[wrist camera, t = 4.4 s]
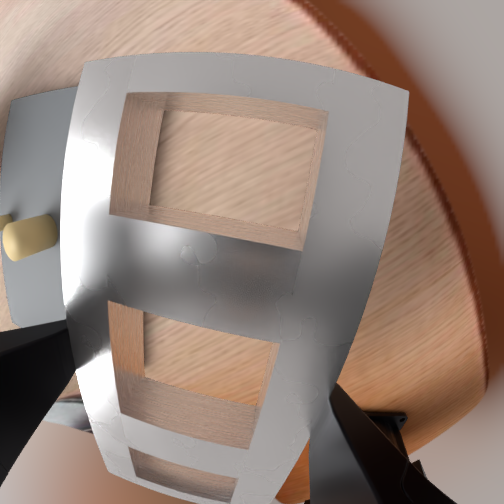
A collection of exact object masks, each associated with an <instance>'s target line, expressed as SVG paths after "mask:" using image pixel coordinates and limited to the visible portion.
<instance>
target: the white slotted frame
mask: <svg viewBox="0 0 504 504" xmlns="http://www.w3.org/2000/svg"><path fill="white" fill-rule="evenodd" d="M408 100H409V91H407V90H404V89H401V88H398V87H395V86H392V85H390V84H387V83H384V82H381V81H378V80H374V79H371V78H368V77H364V76H361V75H357V74H354V73H350V72H346V71H342V70H338V69H334V68H330V67H325V66H321V65H316V64H311V63H305V62H300V61H294V60H288V59H281V58H274V57H266V56H257V55H247V54H234V53H214V52H172V53H153V54H140V55H130V56H122V57H114V58H107V59H101V60H95V61H89V62H85V64H84V67H83V71H82V74H81V78H80V82H79V86H78V90H77V94H76V98H75V102H74V107H73V112H72V117H71V122H70V128H69V134H68V140H67V147H66V154H65V162H64V172H63V183H62V197H61V229H60V238H61V269H62V284H63V295H64V304H65V313H66V320H67V327H68V330H69V336H70V342H71V348H72V353H73V358H74V363H75V367H76V374H77V378H78V382H79V386H80V390H81V394H82V398H83V401H84V405H85V408H86V412H87V415H88V418H89V421H90V424H91V427H92V430H93V433H94V436H95V439H96V441H97V444H98V447H99V449H100V452H101V455H102V457H103V459H104V462H105V464H106V467H107V469H108V471H109V472H110V473H112V474H115V475H117V476H119V477H121V478H124V479H126V480H128V481H131V482H133V483H136V484H139V485H141V486H144V487H146V488H149V489H152V490H155V491H158V492H161V493H164V494H167V495H170V496H173V497H176V498H180V499H183V500H187V501H191V502H195V503H199V504H270V503H271V502H272V500H273V499H274V497H275V496H276V494H277V493H278V491H279V489H280V488H281V486H282V485H283V483H284V481H285V480H286V478H287V477H288V475H289V473H290V472H291V470H292V468H293V467H294V465H295V463H296V461H297V460H298V458H299V456H300V454H301V453H302V451H303V449H304V447H305V445H306V443H307V442H308V440H309V438H310V434H311V432H312V430H313V428H314V426H315V424H316V423H317V421H318V418H319V416H320V414H321V412H322V410H323V408H324V406H325V404H326V402H327V400H328V398H329V397H330V395H331V393H332V391H333V388H334V386H335V384H336V382H337V379H338V377H339V375H340V372H341V370H342V368H343V365H344V363H345V360H346V358H347V355H348V353H349V350H350V348H351V345H352V343H353V340H354V337H355V335H356V332H357V329H358V326H359V324H360V321H361V318H362V315H363V312H364V309H365V306H366V303H367V300H368V297H369V294H370V291H371V288H372V285H373V281H374V278H375V275H376V271H377V268H378V264H379V261H380V257H381V253H382V250H383V246H384V242H385V238H386V234H387V230H388V226H389V221H390V217H391V212H392V208H393V203H394V198H395V193H396V188H397V183H398V177H399V172H400V166H401V159H402V153H403V146H404V138H405V130H406V121H407V111H408ZM164 111H185V112H200V113H212V114H222V115H231V116H240V117H247V118H255V119H262V120H268V121H274V122H280V123H286V124H291V125H297V126H302V127H307V128H312V129H316V130H317V133H316V139H315V145H314V151H313V157H312V162H311V168H310V173H309V179H308V184H307V189H306V194H305V199H304V205H303V210H302V215H301V220H300V224H299V229H298V231H293V230H288V229H283V228H278V227H273V226H268V225H262V224H257V223H252V222H246V221H241V220H236V219H230V218H225V217H219V216H214V215H208V214H202V213H197V212H191V211H185V210H179V209H173V208H167V207H161V206H155V205H149V204H150V195H151V187H152V179H153V172H154V165H155V158H156V152H157V146H158V140H159V134H160V129H161V123H162V118H163V113H164ZM143 311H144V312H148V313H151V314H155V315H158V316H162V317H165V318H169V319H173V320H177V321H180V322H184V323H188V324H192V325H196V326H200V327H204V328H208V329H213V330H217V331H221V332H226V333H230V334H235V335H240V336H244V337H249V338H254V339H259V340H264V341H269V342H273V343H272V347H271V351H270V355H269V359H268V362H267V366H266V370H265V374H264V378H263V381H262V385H261V389H260V392H259V396H258V400H257V403H256V406H254V405H248V404H243V403H238V402H234V401H229V400H224V399H220V398H216V397H212V396H208V395H204V394H200V393H196V392H192V391H189V390H185V389H182V388H178V387H175V386H171V385H168V384H165V383H162V382H159V381H155V380H152V379H149V378H146V377H145V371H144V345H143Z"/></svg>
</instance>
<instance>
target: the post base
mask: <svg viewBox="0 0 504 504" xmlns="http://www.w3.org/2000/svg"><path fill="white" fill-rule="evenodd" d="M77 90H78V86H76V87H70V88H64V89H59V90H53V91H48V92H43V93H39V94H34V95H30V96H26V97H22V98H18V99H15V100H12V101H11V106H10V111H9V116H8V121H7V127H6V133H5V139H4V147H3V155H2V165H1V178H0V241H1V254H2V264H3V273H4V281H5V287H6V294H7V299H8V305H9V310H10V315H11V319H12V323H14V324H16V325H17V326H19V327H21V328H24V327H29V326H34V325H39V324H44V323H49V322H54V321H59V320H64V319H66V313H65V304H64V295H63V284H62V269H61V238H60V229H61V197H62V183H63V172H64V162H65V154H66V147H67V140H68V134H69V128H70V122H71V117H72V112H73V107H74V102H75V98H76V94H77Z"/></svg>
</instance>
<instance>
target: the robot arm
mask: <svg viewBox="0 0 504 504" xmlns="http://www.w3.org/2000/svg"><path fill="white" fill-rule="evenodd" d="M75 371H76V367H75V363H74V358H73V353H72V348H71V342H70V336H69V330H68V327H67V320H66V319H64V320H59V321H54V322H49V323H44V324H39V325H34V326H29V327H24V328H19V329H14V330H9V331H4V332H0V487H1V485H2V483H3V481H4V480H5V478H6V476H7V475H8V472H9V471H10V469H11V467H12V466H13V464H14V463H15V461H16V459H17V458H18V456H19V455H20V453H21V452H22V450H23V448H24V447H25V445H26V444H27V442H28V441H29V439H30V438H31V436H32V435H33V433H34V432H35V430H36V429H37V427H38V426H39V424H40V423H41V421H42V420H43V418H44V417H45V415H46V414H47V413H48V411H49V410H50V408H51V407H52V405H53V404H54V403H55V401H56V400H57V398H58V397H59V396H60V394H61V393H62V391H63V390H64V389H65V387H66V386H67V384H68V383H69V381H70V379H71V378H72V376H73V374H74V373H75ZM407 419H408V417H407V414H406V413H373V412H363V411H362V410H361V409H360V408H359V406H358V405H357V404H356V403H355V402H354V401H353V400H352V399H351V398H350V397H349V395H348V394H347V393H346V392H345V391H344V390H343V389H342V388H341V387H340V385H339V384H337V383H336V384H335V386H334V388H333V391H332V393H331V395H330V397H329V398H328V400H327V402H326V404H325V406H324V408H323V410H322V412H321V414H320V416H319V418H318V421H317V423H316V424H315V426H314V428H313V430H312V432H311V434H310V444H309V476H310V499H309V500H305V503H304V504H457V503H456V502H454V501H453V500H452V499H450V498H449V497H448V496H446V495H445V494H444V493H443V492H442V491H440V490H439V489H438V488H437V487H436V486H435V485H433V484H432V483H431V482H430V481H429V480H428V479H427V477H426V474H425V472H424V470H423V467H422V465H421V462H420V460H417V461H415V462H413V463H411V462H410V461H409V457H408V454H407V451H406V448H405V445H404V442H403V439H402V436H401V433H400V429H401V428H402V426H403V425H404V424H405V422H406V421H407Z"/></svg>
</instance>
